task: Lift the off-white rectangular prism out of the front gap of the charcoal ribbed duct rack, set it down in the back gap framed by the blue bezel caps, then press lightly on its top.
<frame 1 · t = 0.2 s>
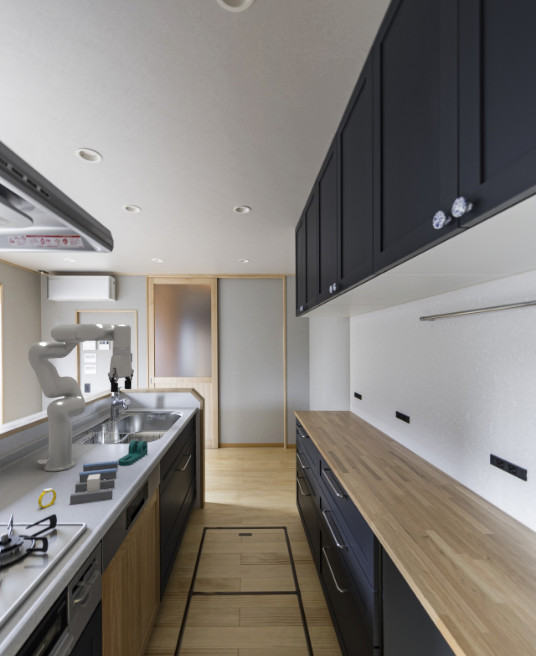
hand: (121, 390, 160), 37 cm above the table, tool pointing down, fingers open, 9 cm apart
duct rack: (96, 484, 148), on the table
watch: (47, 506, 129), on the table
off-white rectangular prism: (93, 495, 138), on the table
bracket: (132, 460, 179), on the table
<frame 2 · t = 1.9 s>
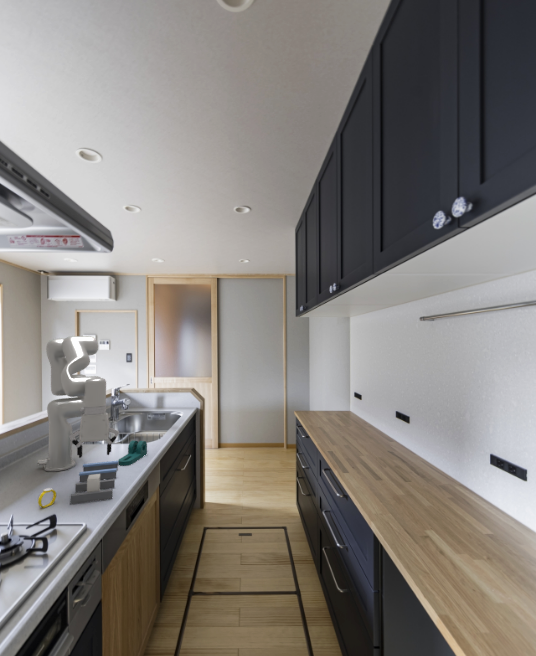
hand: (94, 455, 138), 15 cm above the table, tool pointing down, fingers open, 9 cm apart
nothing on the table moved.
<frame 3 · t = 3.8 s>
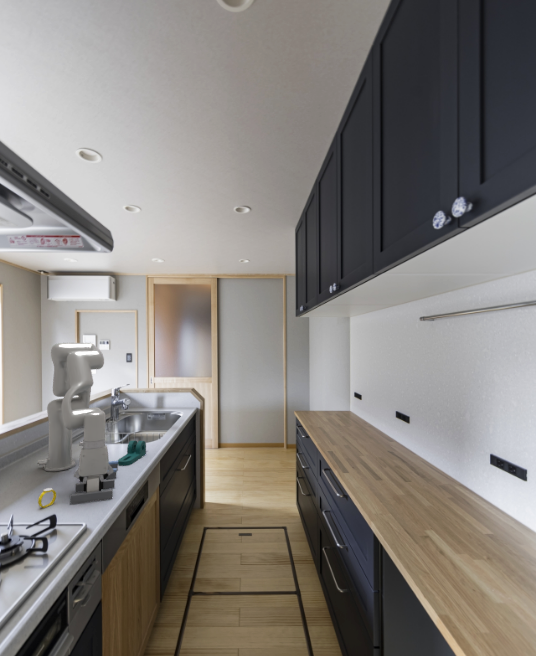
hand: (93, 491, 138), 1 cm above the table, tool pointing down, fingers closed on off-white rectangular prism, 4 cm apart
off-white rectangular prism: (93, 495, 138), on the table, touching gripper
everything else where it was.
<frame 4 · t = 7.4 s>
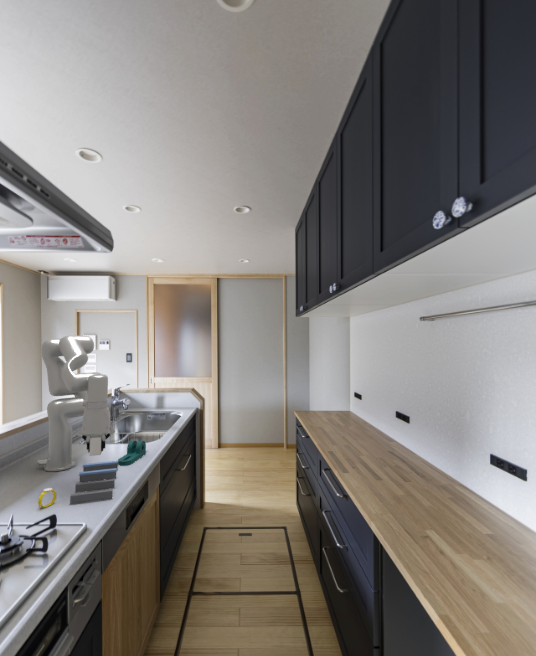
hand: (96, 450, 146), 15 cm above the table, tool pointing down, fingers closed on off-white rectangular prism, 4 cm apart
off-white rectangular prism: (95, 453, 146), point 14 cm above the table, touching gripper
everything else where it was.
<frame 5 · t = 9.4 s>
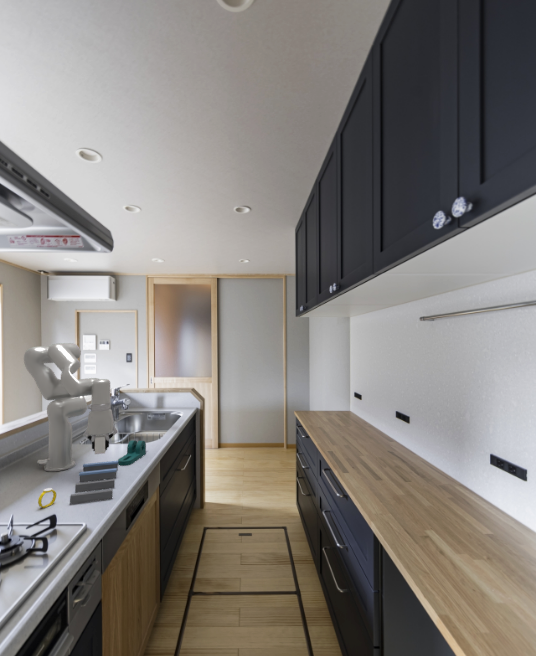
hand: (100, 449, 158), 11 cm above the table, tool pointing down, fingers closed on off-white rectangular prism, 4 cm apart
off-white rectangular prism: (100, 452, 158), point 10 cm above the table, touching gripper
everything else where it was.
when the fingers open (3 cm above the table, at t = 11.1 s): off-white rectangular prism drops 2 cm, on the table.
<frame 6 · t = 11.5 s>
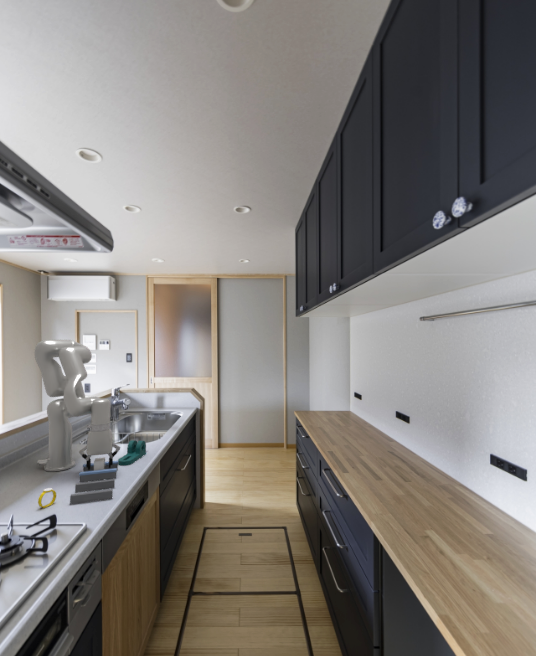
hand: (99, 467, 158), 3 cm above the table, tool pointing down, fingers open, 7 cm apart
off-white rectangular prism: (99, 475, 158), on the table
everything else where it was.
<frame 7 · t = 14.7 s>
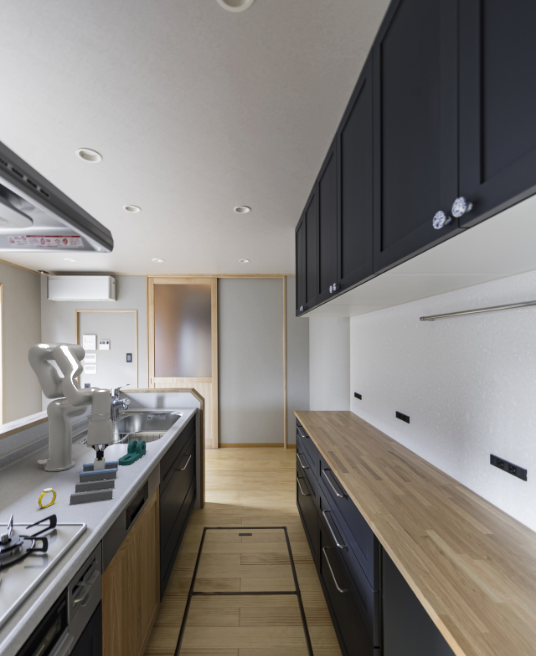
hand: (99, 459, 158), 7 cm above the table, tool pointing down, fingers closed
off-white rectangular prism: (99, 475, 158), on the table, touching gripper
everything else where it was.
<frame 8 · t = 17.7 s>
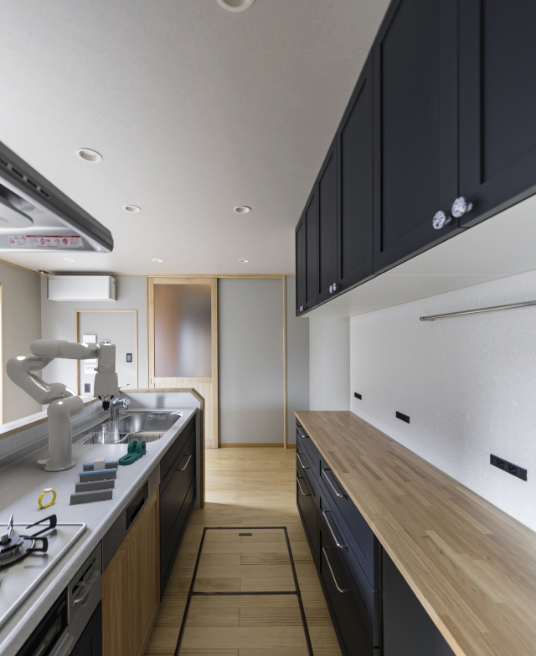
hand: (105, 409, 166), 27 cm above the table, tool pointing down, fingers closed
off-white rectangular prism: (99, 475, 158), on the table
everything else where it was.
at the end: off-white rectangular prism 0.0 cm from the target spot on the duct rack, point 0.0 cm above the duct rack's base; off-white rectangular prism tilted 0°; the gripper is holding nothing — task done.
